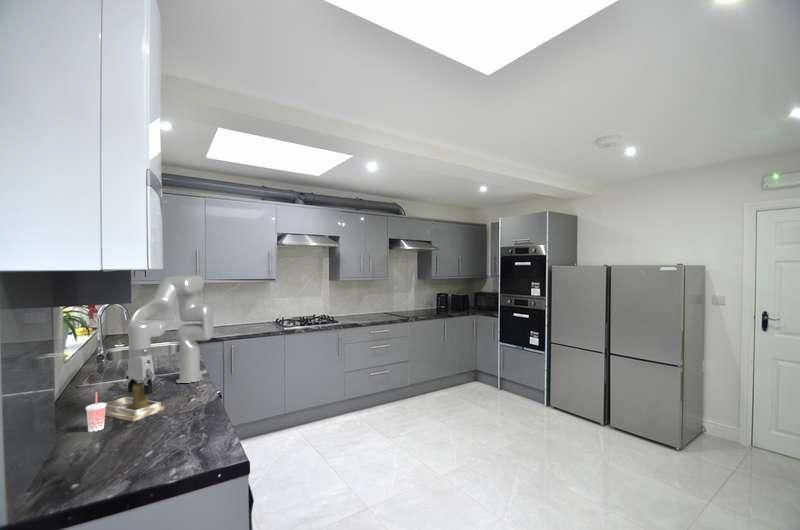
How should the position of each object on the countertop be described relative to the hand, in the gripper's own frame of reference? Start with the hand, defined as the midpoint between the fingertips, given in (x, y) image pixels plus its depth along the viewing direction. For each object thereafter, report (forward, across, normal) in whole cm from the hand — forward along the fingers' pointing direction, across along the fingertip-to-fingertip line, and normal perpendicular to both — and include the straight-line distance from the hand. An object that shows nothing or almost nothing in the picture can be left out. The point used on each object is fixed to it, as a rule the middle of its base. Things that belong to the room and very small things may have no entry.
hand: (140, 392), depth 151 cm
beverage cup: (+9, 0, +16) cm, 19 cm away
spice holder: (+9, +6, 0) cm, 10 cm away
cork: (+7, 0, 0) cm, 7 cm away
